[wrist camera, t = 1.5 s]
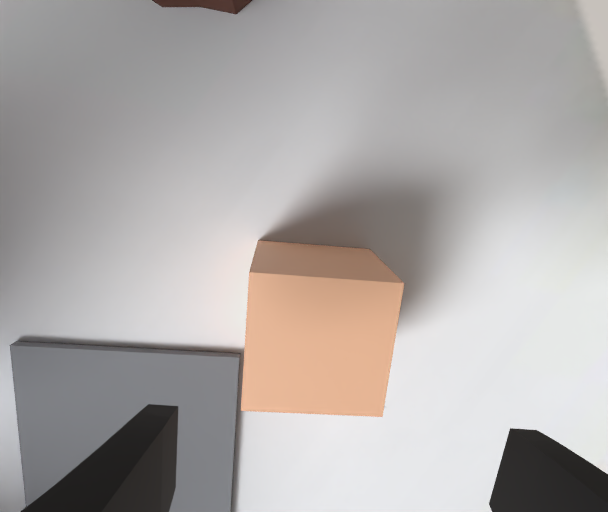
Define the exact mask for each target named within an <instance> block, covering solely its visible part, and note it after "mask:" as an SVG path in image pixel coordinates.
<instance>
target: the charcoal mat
mask: <svg viewBox="0 0 608 512" xmlns="http://www.w3.org/2000/svg"><path fill="white" fill-rule="evenodd" d="M10 351H11V361H12V371H13V381H14V391H15V401H16V411H17V421H18V430H19V440H20V450H21V460H22V470H23V480H24V490H25V500H26V507H27V506H28V505H30V504H31V503H32V502H33V501H35V500H36V499H37V498H39V497H40V496H41V495H42V494H44V493H45V492H46V491H48V490H49V489H50V488H51V487H52V486H54V485H55V484H56V483H57V482H59V481H60V480H61V479H62V478H63V477H65V476H66V475H67V474H68V473H69V472H70V471H72V470H73V469H74V468H75V467H76V466H78V465H79V464H80V463H81V462H82V461H84V460H85V459H86V458H87V457H88V456H89V455H91V454H92V453H93V452H94V451H95V450H96V449H98V448H99V447H100V446H101V445H102V444H103V443H104V442H106V441H107V440H108V439H109V438H110V437H111V436H112V435H114V434H115V433H116V432H117V431H118V430H119V429H120V428H122V427H123V426H124V425H125V424H126V423H127V422H128V421H129V420H131V419H132V418H133V417H134V416H135V415H136V414H137V413H139V412H140V411H141V410H142V409H143V408H144V407H146V406H147V405H148V404H154V405H169V406H178V435H177V465H176V488H175V492H174V496H173V499H172V503H171V507H170V510H169V512H231V498H232V481H233V464H234V447H235V430H236V413H237V396H238V379H239V362H240V353H222V352H203V351H185V350H167V349H148V348H130V347H111V346H93V345H75V344H56V343H38V342H20V341H16V342H14V343H13V344H11V345H10Z"/></svg>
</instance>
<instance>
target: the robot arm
mask: <svg viewBox="0 0 608 512" xmlns="http://www.w3.org/2000/svg"><path fill="white" fill-rule="evenodd" d="M177 435H178V406H169V405H154V404H148V405H147V406H146V407H144V408H143V409H142V410H141V411H140V412H139V413H137V414H136V415H135V416H134V417H133V418H132V419H131V420H129V421H128V422H127V423H126V424H125V425H124V426H123V427H122V428H120V429H119V430H118V431H117V432H116V433H115V434H114V435H112V436H111V437H110V438H109V439H108V440H107V441H106V442H104V443H103V444H102V445H101V446H100V447H99V448H98V449H96V450H95V451H94V452H93V453H92V454H91V455H89V456H88V457H87V458H86V459H85V460H84V461H82V462H81V463H80V464H79V465H78V466H76V467H75V468H74V469H73V470H72V471H70V472H69V473H68V474H67V475H66V476H65V477H63V478H62V479H61V480H60V481H59V482H57V483H56V484H55V485H54V486H52V487H51V488H50V489H49V490H48V491H46V492H45V493H44V494H42V495H41V496H40V497H39V498H37V499H36V500H35V501H33V502H32V503H31V504H30V505H28V506H27V507H26V508H24V509H23V510H22V511H21V512H169V510H170V507H171V503H172V499H173V496H174V492H175V488H176V465H177ZM489 505H490V507H491V510H492V512H608V474H606V473H605V472H603V471H602V470H600V469H599V468H597V467H596V466H594V465H593V464H591V463H589V462H588V461H586V460H585V459H583V458H582V457H580V456H579V455H577V454H576V453H574V452H572V451H571V450H569V449H568V448H566V447H564V446H563V445H561V444H560V443H558V442H556V441H555V440H553V439H551V438H550V437H548V436H546V435H544V434H543V433H541V432H539V431H537V430H525V429H511V428H510V431H509V435H508V438H507V442H506V445H505V449H504V452H503V456H502V460H501V463H500V467H499V470H498V474H497V477H496V481H495V485H494V488H493V492H492V495H491V499H490V502H489Z"/></svg>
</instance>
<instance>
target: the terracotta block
mask: <svg viewBox="0 0 608 512" xmlns="http://www.w3.org/2000/svg"><path fill="white" fill-rule="evenodd" d="M403 288H404V283H403V282H402V281H401V280H400V279H399V278H398V277H397V276H396V275H395V274H394V273H393V272H392V271H391V270H390V269H389V268H388V267H387V266H386V265H385V264H384V263H383V262H382V261H381V260H380V259H379V258H378V257H377V256H376V255H375V254H374V253H373V252H372V251H371V250H370V249H363V248H351V247H338V246H325V245H313V244H300V243H288V242H275V241H262V240H258V243H257V246H256V250H255V254H254V257H253V261H252V264H251V268H250V272H249V286H248V302H247V318H246V335H245V351H244V367H243V383H242V399H241V411H258V412H282V413H305V414H328V415H352V416H375V417H382V416H383V410H384V404H385V397H386V391H387V385H388V379H389V373H390V367H391V361H392V355H393V349H394V343H395V337H396V331H397V325H398V319H399V313H400V306H401V300H402V294H403Z"/></svg>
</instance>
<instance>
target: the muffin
mask: <svg viewBox="0 0 608 512" xmlns="http://www.w3.org/2000/svg"><path fill="white" fill-rule="evenodd" d="M152 1H154V2H155V3H157V4H158V5H160V6H161V7H203V8H208V9H213V10H218V11H223V12H228V13H233V14H237V13H238V12H240V11H241V10H242V9H243V8H244V7H245V6H247V5H248V4H249V3H250V2H251V1H252V0H152Z"/></svg>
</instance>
